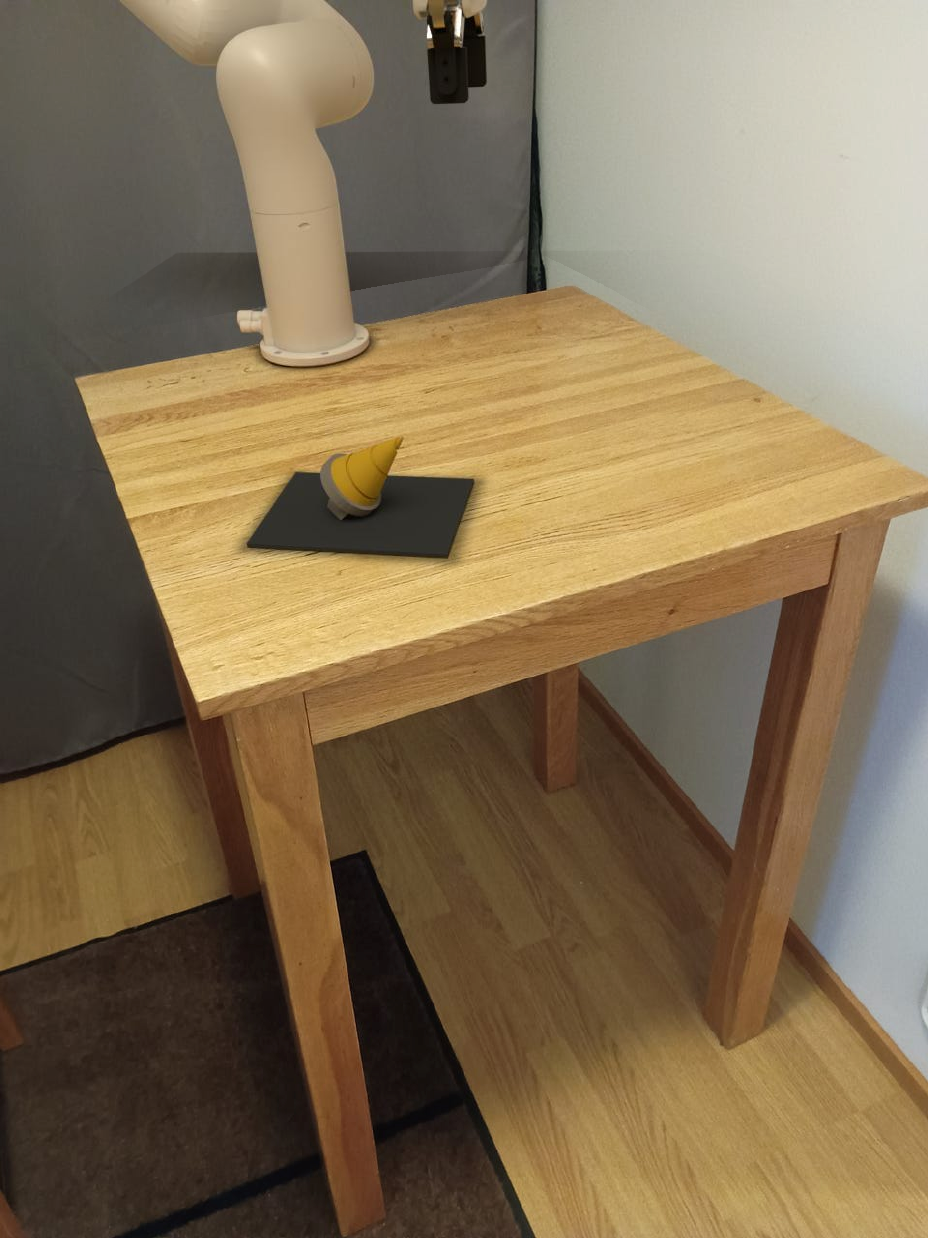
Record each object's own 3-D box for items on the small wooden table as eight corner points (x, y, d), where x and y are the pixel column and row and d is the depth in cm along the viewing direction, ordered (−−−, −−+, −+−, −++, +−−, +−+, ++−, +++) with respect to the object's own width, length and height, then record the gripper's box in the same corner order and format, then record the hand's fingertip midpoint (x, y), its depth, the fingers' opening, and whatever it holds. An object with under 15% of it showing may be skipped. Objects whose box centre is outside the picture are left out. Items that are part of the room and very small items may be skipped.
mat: (247, 547, 72) (246, 543, 72) (296, 475, 82) (295, 471, 82) (447, 558, 70) (447, 553, 69) (474, 482, 79) (474, 478, 79)
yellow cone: (349, 490, 79) (424, 421, 73) (357, 541, 77) (435, 474, 71) (296, 470, 76) (370, 397, 70) (303, 524, 73) (381, 452, 67)
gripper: (424, -146, 80) (438, 82, 90) (373, -160, 66) (396, 111, 76) (511, -153, 78) (514, 80, 88) (477, -169, 65) (486, 108, 75)
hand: (460, 94), depth 82 cm, fingers open, 9 cm apart
